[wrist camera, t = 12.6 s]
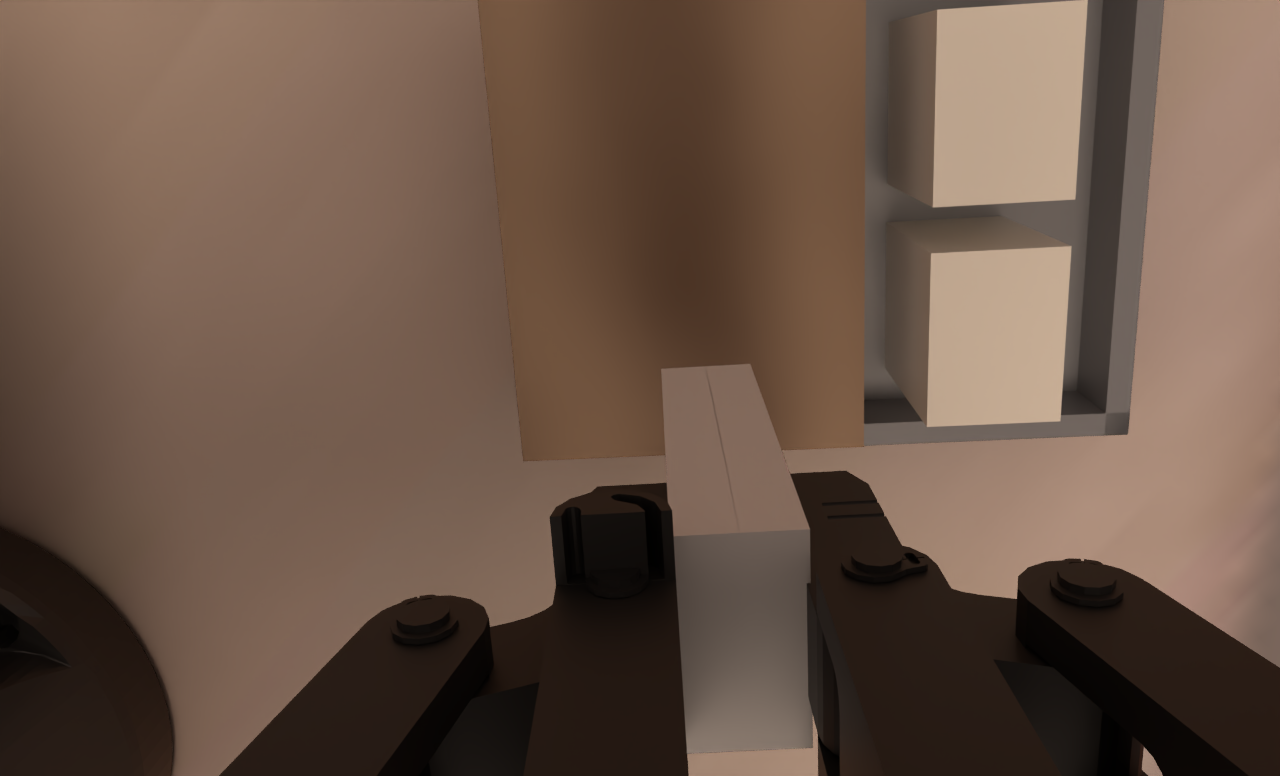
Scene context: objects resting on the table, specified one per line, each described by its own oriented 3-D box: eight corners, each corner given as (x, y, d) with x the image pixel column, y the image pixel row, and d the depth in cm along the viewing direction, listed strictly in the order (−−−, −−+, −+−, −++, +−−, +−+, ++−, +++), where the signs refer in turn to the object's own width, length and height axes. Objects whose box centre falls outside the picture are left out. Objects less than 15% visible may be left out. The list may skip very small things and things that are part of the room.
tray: (839, 414, 29) (854, 446, 27) (838, -36, 26) (855, -49, 23) (1089, 403, 29) (1128, 434, 26) (1122, -56, 25) (1170, -70, 23)
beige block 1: (932, 207, 22) (1075, 199, 22) (937, 9, 21) (1087, -1, 21) (887, 184, 27) (1004, 177, 27) (888, 22, 26) (1011, 14, 25)
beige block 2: (926, 427, 23) (1060, 421, 23) (930, 253, 22) (1071, 245, 22) (884, 367, 28) (995, 362, 28) (886, 222, 27) (1001, 216, 27)
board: (543, 411, 30) (523, 461, 26) (506, 6, 26) (477, -5, 22) (839, 397, 29) (863, 446, 25) (838, -15, 26) (866, -31, 22)
